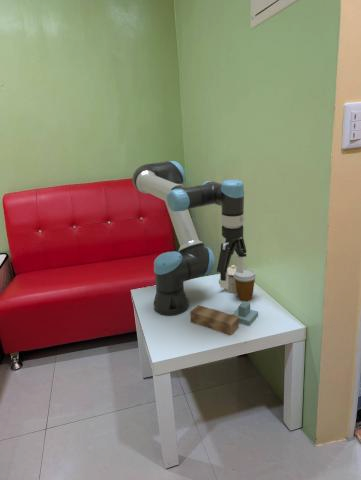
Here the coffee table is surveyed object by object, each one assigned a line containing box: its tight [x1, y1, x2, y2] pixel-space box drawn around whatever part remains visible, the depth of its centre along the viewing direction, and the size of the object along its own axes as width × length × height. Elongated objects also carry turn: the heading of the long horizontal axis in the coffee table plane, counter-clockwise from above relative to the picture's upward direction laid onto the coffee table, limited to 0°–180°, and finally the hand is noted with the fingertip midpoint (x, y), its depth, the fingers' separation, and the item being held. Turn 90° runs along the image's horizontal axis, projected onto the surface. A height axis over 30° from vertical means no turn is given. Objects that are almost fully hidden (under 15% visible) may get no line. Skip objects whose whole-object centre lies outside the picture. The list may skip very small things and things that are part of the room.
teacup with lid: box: [218, 264, 237, 294], centre depth 160 cm, size 12×9×12 cm
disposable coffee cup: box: [234, 268, 257, 302], centre depth 152 cm, size 10×10×12 cm
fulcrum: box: [231, 301, 259, 327], centre depth 138 cm, size 8×8×6 cm
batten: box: [189, 304, 240, 336], centre depth 135 cm, size 18×6×5 cm, turn 54°
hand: (232, 279), depth 130 cm, fingers open, 13 cm apart
